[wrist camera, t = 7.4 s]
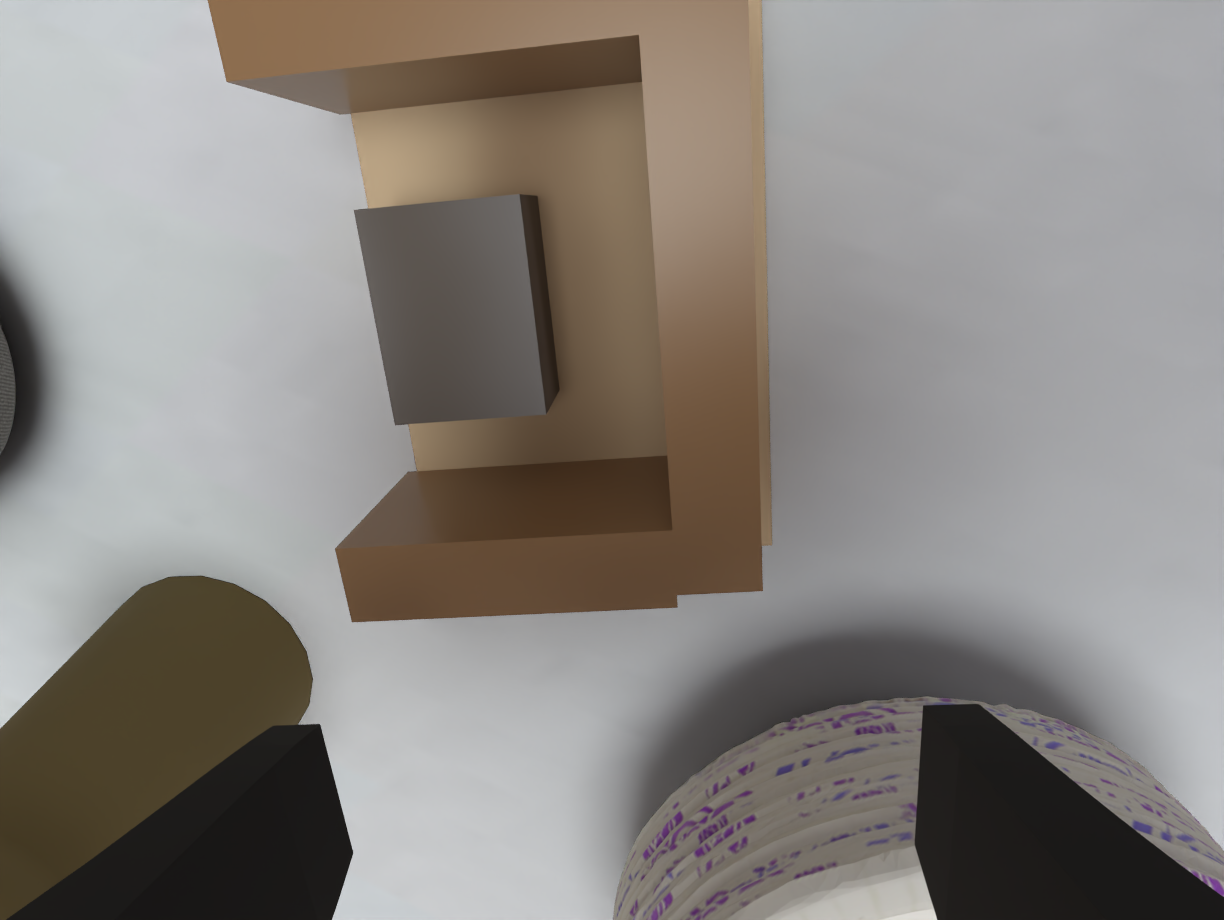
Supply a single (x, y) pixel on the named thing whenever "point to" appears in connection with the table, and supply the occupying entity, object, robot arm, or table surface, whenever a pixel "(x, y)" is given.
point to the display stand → (529, 275)
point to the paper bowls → (854, 819)
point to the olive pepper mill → (139, 723)
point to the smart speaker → (6, 391)
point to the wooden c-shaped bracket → (685, 287)
